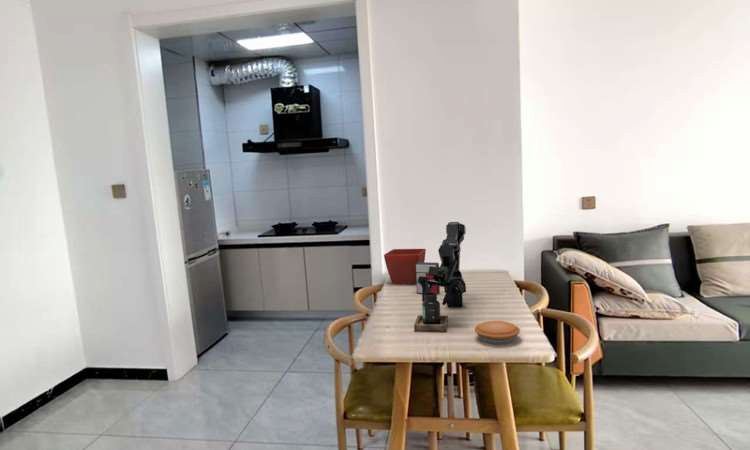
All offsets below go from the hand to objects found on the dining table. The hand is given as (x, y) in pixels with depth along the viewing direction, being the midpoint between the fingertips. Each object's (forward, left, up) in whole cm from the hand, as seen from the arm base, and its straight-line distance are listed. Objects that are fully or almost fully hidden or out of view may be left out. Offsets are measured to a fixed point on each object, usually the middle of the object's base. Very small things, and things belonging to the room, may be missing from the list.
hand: (432, 303), depth 181 cm
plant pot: (+21, -72, -9) cm, 75 cm away
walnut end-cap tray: (+1, +1, -9) cm, 9 cm away
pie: (-23, +13, -9) cm, 29 cm away
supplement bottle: (+1, +1, -8) cm, 8 cm away
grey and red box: (+7, -48, -9) cm, 49 cm away
